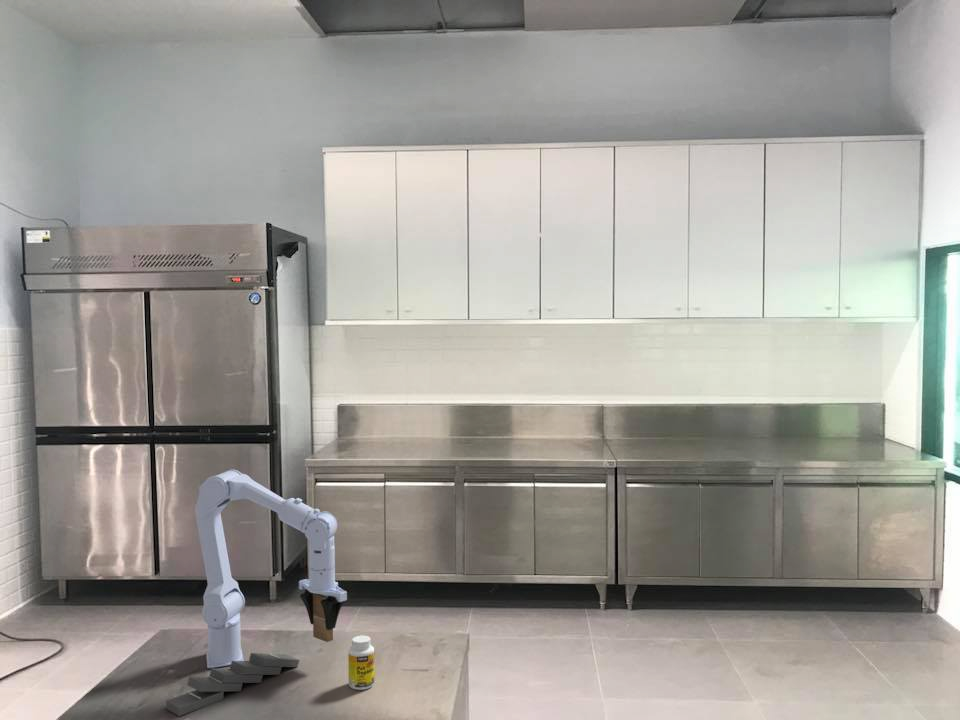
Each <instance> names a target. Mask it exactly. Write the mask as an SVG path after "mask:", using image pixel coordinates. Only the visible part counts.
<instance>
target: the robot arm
mask: <svg viewBox="0 0 960 720" xmlns="http://www.w3.org/2000/svg"><path fill="white" fill-rule="evenodd" d="M198 492H199V495H198V498H197V501H196V505H195V508H194V514H195V519H196V523H197V524H196V525H197V530H198V536H199V543H200V548H201V553H202V558H203V563H204V564H203V565H204V569H205V576H206V580H207V582H206V583H207V585H206V588H205V591H204V593H203V595H202V596H203V597H202V600H203V607H202V610H201V615H202V619H203V622H204V623H206V624H207V643H208V645H207V646H208V648H207V651H206V652H205V654H206V655H205V657H206V667H207V669H216V668H219V667H227V666H231V662H232V661H245V660H244V655H243V651H242V645H241V644H242V643H241V642H242V641H241V636H242V635H241V612H242V611H243V609H244V607H245V605H246V599H245V597H244V594H243V593H242V591H241V590H240V587H239V582H238V581H237V580H235V579H234V578H233V577H232V571H231V566H230V560H229V555H228V548H227V544H226V537H225V533H224V532H225V530H224V525H223V521H222V515H221V513H222V511H223V510H224V509H225V508H226V506H227V505H228V504H229V503H230V502H231V501H232V502H233V501H240V500H245V499H246V500H249V501H251V502H253V503H256V504H257V505H260V506H261V507H264V508H266V509H269V510H271V511H273V512H275V513H277V517H278V519H279V521H281V522H283V523H284V524H286V525H288V526H290V527H292V528H293V529H296V530H298V531H299V532H301V533H303V534H304V535H305V538H306V539H307V540H308V543H309V547H308V551H309V553H308V554H309V555H308V559H309V560H308V563H309V567H308V569H309V579H307V578H305V579H301V580H299V581H298V590H302V591H304V592H303V593H301V594H300V597H299V598H300V600H301V601H302V602H303V604H304V606H305V609H306V612H307V615H308V619H309V622H310V625H312V626H313V594H314V593H315V594H321V595H324V596H327V597H328V599H325V600H322V601H320V603H321V605H322V607H323V610H324V615H325V625H326V629H327V630H331V629H333V630H334V629H335V628H336V626H337V620H338V618H339V614H340V611H341V608H342V607H343V604H344V603H345V601H347V600H348V592H347V591H346V590H344V589H343V588H341V587H339V582H338V581H336V560H335V559H336V556H335V555H336V554H335V553H336V552H335V551H336V548H335V533H336V532H337V530H338V526H339V525H338V520H337V518H336V517H335V515H334V514H332V513H331V512H330V511H321V510H320V509H319V508H314V507H311V506H310V505H307V504H305V503H304V502H303V499H301V498H299V497H297V498H294V497H291V498H288V499H285V498H283V497H281V496H280V495H278V494H276V493H275V492H273V491H272V490H270V489H268V488H267V487H265V486H263V485H262V484H260V483H258V482H256V481H255V480H253V479H252V477H250V476H249V475H248V474H245V473H242V472H240V471H239V470H237V469H228V470H226V471H224V472H222V473H220V474H215V475H212V476H209V477H208V478H207V479H206V480H204V482H202V484H201V485H200V486H199V487H198Z"/></svg>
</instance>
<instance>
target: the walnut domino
mask: <svg viewBox="0 0 960 720" xmlns="http://www.w3.org/2000/svg"><path fill="white" fill-rule="evenodd" d="M325 599H328V597H327V596H324V595H321V594H315V593H314V594H313V625H312V630H313V631H312V632H313V633H312V636H313V638H314V639H318V640H320V641H324V642H327V643H329V642H332V641H334V628H333V629H331V630H327V629H326V625H325V615H324V610H323V607H322V605H321V603H320V601H322V600H325Z"/></svg>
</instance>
